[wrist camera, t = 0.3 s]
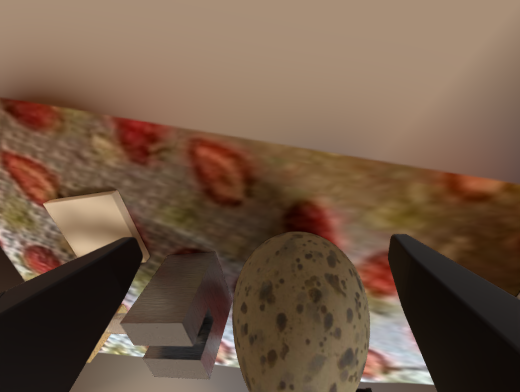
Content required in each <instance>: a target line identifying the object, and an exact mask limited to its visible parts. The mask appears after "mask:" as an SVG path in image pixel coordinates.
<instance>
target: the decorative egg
mask: <svg viewBox="0 0 520 392" xmlns="http://www.w3.org/2000/svg"><path fill="white" fill-rule="evenodd" d="M232 324H233V335H234V343H235V349H236V353H237V358H238V362H239V365H240V369H241V372H242V375H243V378H244V381H245V383H246V386H247V388H248V390H249V392H356V390H357V387H358V385H359V382H360V380H361V377H362V374H363V371H364V367H365V363H366V359H367V354H368V347H369V338H370V315H369V307H368V301H367V297H366V293H365V289H364V286H363V284H362V281H361V279H360V276H359V274H358V272H357V270H356V269H355V267H354V265H353V264H352V262H351V261H350V260H349V259H348V257H347V256H346V255H345V254H344V253H343V252H342V251H341V250H340V249H339V248H338V247H337V246H336V245H334V244H333V243H331V242H330V241H328V240H326V239H325V238H322V237H320V236H318V235H315V234H312V233H307V232H287V233H283V234H279V235H277V236H274V237H272V238H270V239H268V240H267V241H265V242H264V243H262V244H261V245H260V246H259V247H258V248H257V249H256V250H255V251H254V252H253V253H252V254H251V255H250V257H249V258H248V260H247V261H246V263H245V265H244V266H243V268H242V271H241V273H240V275H239V278H238V281H237V285H236V289H235V294H234V300H233V313H232Z"/></svg>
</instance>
